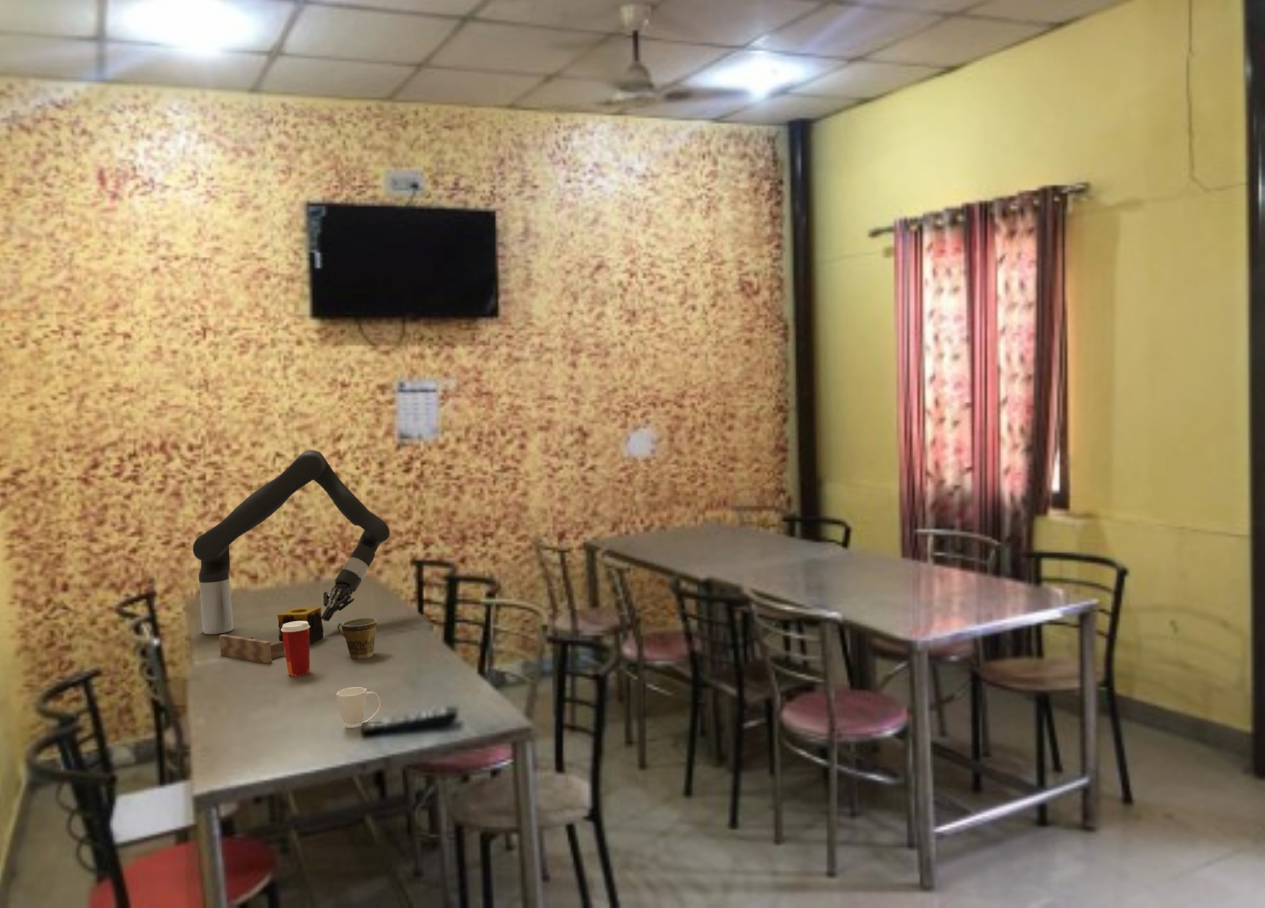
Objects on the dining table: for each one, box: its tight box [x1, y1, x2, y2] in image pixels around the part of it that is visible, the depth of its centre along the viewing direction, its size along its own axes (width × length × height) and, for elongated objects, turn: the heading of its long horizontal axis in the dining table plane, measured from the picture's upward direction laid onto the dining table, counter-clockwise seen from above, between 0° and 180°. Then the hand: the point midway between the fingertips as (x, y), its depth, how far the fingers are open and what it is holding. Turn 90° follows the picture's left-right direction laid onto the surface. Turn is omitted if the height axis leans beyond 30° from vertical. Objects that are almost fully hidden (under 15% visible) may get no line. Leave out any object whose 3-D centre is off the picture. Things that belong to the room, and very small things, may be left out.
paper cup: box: [281, 621, 311, 677], centre depth 286 cm, size 8×8×14 cm
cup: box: [335, 686, 382, 725], centre depth 240 cm, size 7×10×8 cm
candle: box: [277, 606, 325, 646], centre depth 322 cm, size 10×10×10 cm
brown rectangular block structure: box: [218, 633, 286, 664], centre depth 308 cm, size 22×8×6 cm, turn 56°
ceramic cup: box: [337, 617, 378, 660], centre depth 302 cm, size 13×10×10 cm
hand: (324, 619), depth 330 cm, fingers closed
